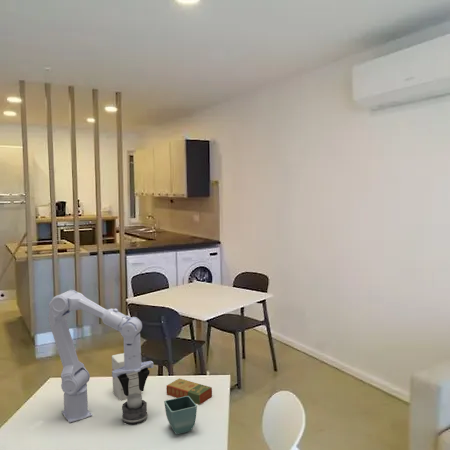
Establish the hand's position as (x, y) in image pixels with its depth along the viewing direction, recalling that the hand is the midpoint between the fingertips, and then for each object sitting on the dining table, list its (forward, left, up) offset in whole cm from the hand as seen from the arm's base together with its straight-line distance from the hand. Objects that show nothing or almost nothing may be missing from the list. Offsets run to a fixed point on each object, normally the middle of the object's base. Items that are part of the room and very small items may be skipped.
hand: (133, 392), depth 155 cm
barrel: (0, 0, -9) cm, 9 cm away
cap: (0, 0, -5) cm, 5 cm away
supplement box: (-20, +6, -10) cm, 23 cm away
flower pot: (+16, +9, -10) cm, 21 cm away
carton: (-3, +24, -10) cm, 26 cm away
